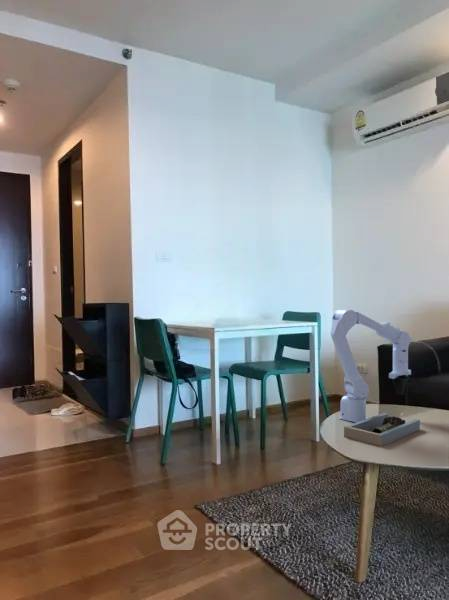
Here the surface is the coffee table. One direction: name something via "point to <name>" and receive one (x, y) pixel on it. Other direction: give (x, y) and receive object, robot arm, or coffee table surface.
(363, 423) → the grey rectangular tray
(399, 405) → the coffee table surface
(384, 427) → the jagged brown rock
